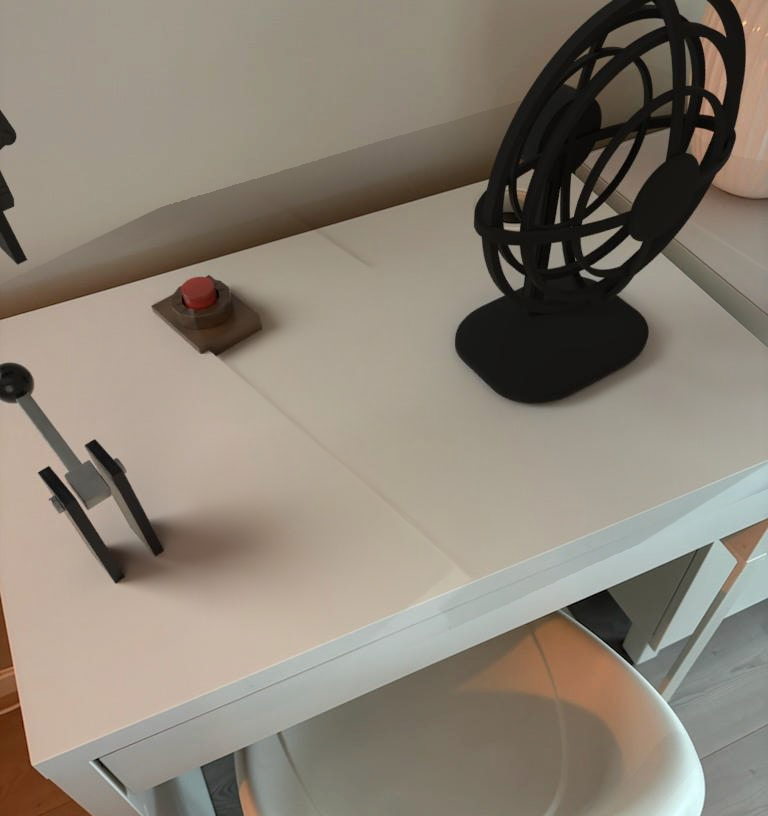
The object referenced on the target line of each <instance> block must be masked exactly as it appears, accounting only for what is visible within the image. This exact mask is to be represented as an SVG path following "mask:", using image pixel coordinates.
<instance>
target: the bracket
mask: <svg viewBox="0 0 768 816" xmlns="http://www.w3.org/2000/svg"><path fill="white" fill-rule="evenodd" d="M84 448H85V450H86V451H87V454H88V455H89V457H90V459H91V460H92V463H93V465H94V467H95V468H96V470H97V471H98V472H99V474H100V475H101V476H102V478H103V479H104V480H105V482H106V483H107V484H108V486H109V487H110V490H111V496H112V498H113V500H114V502H115V503H116V505H117V507H118V508H119V510H120V512H121V513H122V515H123V517H124V519H125V521H126V522H127V524H128V526H129V528H130V529H131V530H132V532H133V533H134V534H135V535H136V536H137V537H138V538H139V540H140V541H141V542H142V543H143V544H144V545H145V547H146V548H147V549H148V550H149V551H150V553H151V554H152V555H153V556H154V557H157V556H158V555H160V554H162V553H163V552H165V548H164V546H163V545H162V542H161V540H160V538H159V537H158V535H157V533H156V531H155V529H154V527H153V525H152V523H151V521H150V520H149V517H148V515H147V514H146V512H145V510H144V508H143V506H142V504H141V502H140V500H139V498H138V497H137V495H136V492H135V491H134V489H133V487H132V485H131V483H130V481H129V479H128V477H127V475H126V474H127V472H128V471H127V469H126V467H125V465H124V464H123V463H122V461H121V460H120V459H119V458H118V457H115V458H113V457H112V456H111V455H110V454H109V452H108V451H107V450H105V448H104V447H103V446H102V445H101V444H100V443H99V441H98V440H97V439H92V440H91V441H88V442H87V443H85V444H84ZM37 474H38V476H39V477H40V479H41V481H42V482H43V484H44V485H45V486H46V488H47V489H48V491H49V492H50V494H51V495H52V496H51V497H49V498H48V502H49V503H50V504H51V505H52V507H53V508H54V509H55V511H56V512H57V513H58V514H59V515H60V514H62V513H64V514H65V516H66V518H67V519H68V521H69V522H70V523H71V525H72V526H73V528H74V529H75V531H76V532H77V534H78V536H79V537H80V538H81V540H82V541H83V543H84V544H85V546H86V547H87V549H88V550H89V552H90V553H91V555H92V556H93V557H94V559H95V560H96V561H97V562H98V563H99V565H100V566H101V567H102V568H103V570H104V572H105V573H106V574H107V575H108V576H109V577H110V579H111V581H113V583H114V584H117V583H119V582H120V581H122V580H124V579H126V575H125V574H124V572H123V570H122V569H121V567H120V566H119V564H118V562H117V561H116V559H115V558H114V556H113V555H112V553H111V551H110V550H109V549H108V547H107V545H106V544H105V542H104V541H103V539H102V537H101V536H100V534H99V532H98V531H97V529H96V528H95V526H94V525H93V523H92V522H91V520H90V518H89V517H88V515H87V513H86V512H85V510H84V509H83V507H82V506H81V504H80V503H79V501H78V500H77V498H76V497H75V495H74V493H72V492H71V491H70V489H69V488H68V486H66V484H65V483H64V482H63V481H62V480H61V479H60V477H59V476H58V474H57V473H56V472H55V471H54V470H53V468H52V467H51V466H50V465H48V466H46V467H45V468H43V469H41V470H39V471H38V472H37Z"/></svg>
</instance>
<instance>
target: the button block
mask: <svg viewBox="0 0 768 816" xmlns="http://www.w3.org/2000/svg"><path fill="white" fill-rule="evenodd" d="M205 277H207V278H209V279H211V280H212V281H213V283H214V286H215V290H216V294H217V301H216V303H215V304H213V305H211V306H210V307H208V308H204V309H198V310H195V309H190V308H188V307H187V306H186V304H185V301H184V298H183V295H182V292H181V287H182V285H180V286H177V287H178V288H176V290H175V291H174V293H172V294H170V295H169V296H166V297H165V298H163V299H161V300H160V301H158V302H157V301H156V303H154V304H152V305H150V307H151V310H152V312H153V313H154V314H155V315H156V316H157V317H158V318H160V319H161V320H162V321H163V322H164V323H165V324H166V325H168V327H170V329H172V330H173V331H174V332H175V333H176V334H177V335H179V336H180V337H181V338H182V339H183V340H184V341H186V343H187V344H188V345H190V346H191V347H192V348H193V349H194V350H195V351H197V353H199V355H202V354H204V353H206V352H208V351H209V352H210V353H212V354H213V355H214V356H215V357H218V356H219V355H221V354H223V353H224V352H226V351H228V350H229V349H232V348H233V347H235V346H237V345H238V344H240V343H241V342H243V341H245V340H247V339H249V338H250V337H252V336H253V335H256V334H257V333H259V332H260V331H262V330H263V327H262V321H261V318H260V313H258V312H257V311H256V310H254V309H253V308H252V307H250V306H249V305H248V304H247V303H245V301H243V300H241V299H240V298H239V297H238V296H237V295H235V294H234V293H233V292H232V291H231V290H230V287H229V286H228V285H226V283H224V282H223V281H221V280H219V279H215V278H214V277H212V276H211V275H210V274H208V275H206V276H205Z"/></svg>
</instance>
